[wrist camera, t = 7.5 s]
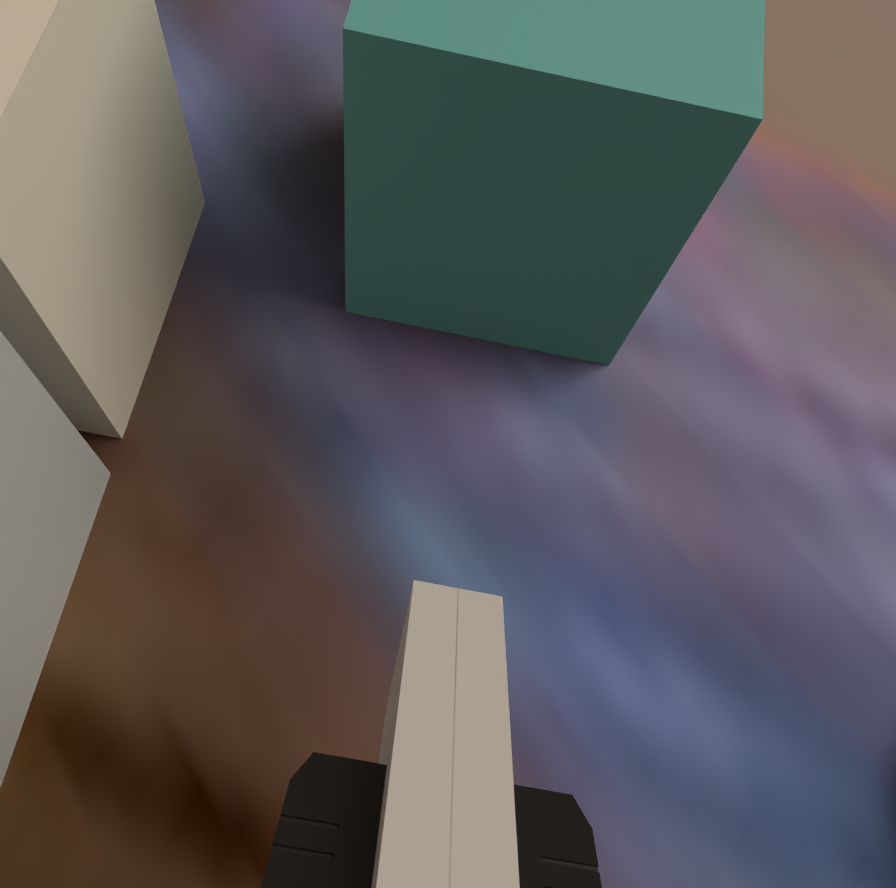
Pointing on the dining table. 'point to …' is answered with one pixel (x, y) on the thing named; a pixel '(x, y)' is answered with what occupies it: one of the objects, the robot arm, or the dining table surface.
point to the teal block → (537, 158)
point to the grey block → (36, 530)
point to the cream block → (90, 198)
